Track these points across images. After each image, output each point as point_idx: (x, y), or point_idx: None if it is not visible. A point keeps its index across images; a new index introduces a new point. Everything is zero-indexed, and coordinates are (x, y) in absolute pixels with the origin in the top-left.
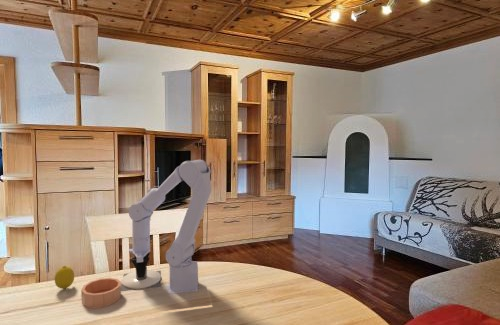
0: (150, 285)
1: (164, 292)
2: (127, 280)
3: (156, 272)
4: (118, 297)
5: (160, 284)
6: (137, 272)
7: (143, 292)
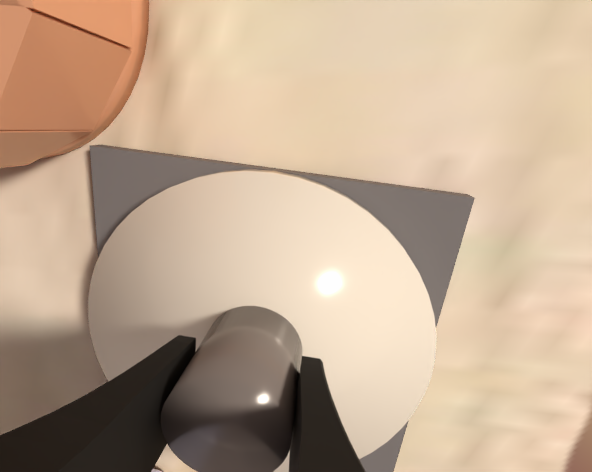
0: None
1: None
2: (234, 230)
3: None
4: None
5: None
6: (135, 373)
7: (80, 319)
